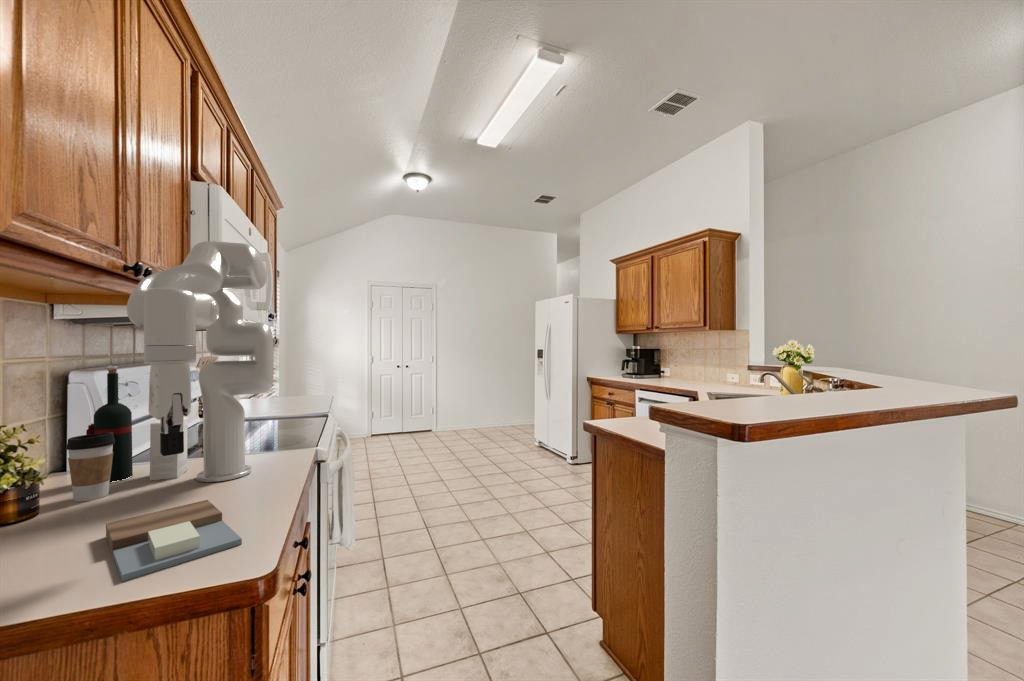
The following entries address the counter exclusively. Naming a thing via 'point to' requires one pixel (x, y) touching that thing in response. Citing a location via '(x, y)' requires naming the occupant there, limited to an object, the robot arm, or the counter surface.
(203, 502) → the walnut deck
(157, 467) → the skincare box
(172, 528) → the sage tile
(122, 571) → the slate mat
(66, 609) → the counter surface
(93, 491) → the coffee cup
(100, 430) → the wine bottle
